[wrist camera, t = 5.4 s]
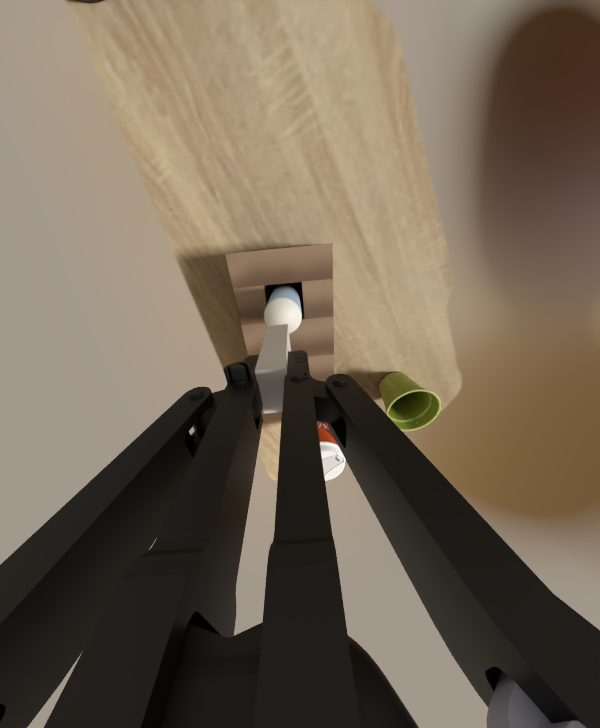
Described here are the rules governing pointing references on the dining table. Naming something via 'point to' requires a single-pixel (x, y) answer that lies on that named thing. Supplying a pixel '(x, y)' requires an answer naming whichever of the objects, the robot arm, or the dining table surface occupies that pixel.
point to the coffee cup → (330, 452)
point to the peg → (284, 307)
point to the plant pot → (408, 402)
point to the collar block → (316, 279)
